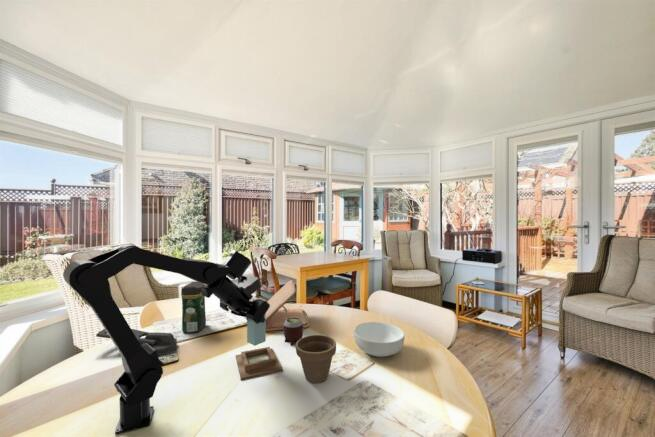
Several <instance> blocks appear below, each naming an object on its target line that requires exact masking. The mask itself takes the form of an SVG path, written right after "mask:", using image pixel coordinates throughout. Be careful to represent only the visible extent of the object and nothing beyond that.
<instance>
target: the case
mask: <svg viewBox="0 0 655 437" xmlns="http://www.w3.org/2000/svg"><path fill="white" fill-rule="evenodd" d="M296 287H297V286H296V284H295V283H294V281H293V280H292V279H290V280H288V281H287V282H286V283H285V284H284V285H282V287H281V288H280V289H278V291H276V292H275V294H273V295H272V297H270V298H269V300H266V301H267V302H268V303H269V304H270V307H269V309H268V310H267V312H266V332H276V331H284V330H283V326H284V323H285V321H286V320H287V319H288V318H287V315H286V312H285V310H284V309H281V308H283V307H282V306H285V304H287V303H288V302H289V301H290V300H291V299H292V298H293V296H295V294H296V292H297V289H296ZM280 305H282V306H280ZM287 313H288V316H289V318H293V317H294V318H299V319H300V320H301V321H302V324H303V329H307V328H309V327H310V322H309V319H308V315H307V314H306V311H305V310H303V309H301V308H300V309H297V308H295V309H287Z"/></svg>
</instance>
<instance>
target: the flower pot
mask: <svg viewBox="0 0 655 437" xmlns="http://www.w3.org/2000/svg"><path fill="white" fill-rule="evenodd" d="M336 352H337V342H336V339H334V338H333V337H332V336H329V335H324V334H311V335H310V334H309V335H307V336H304V337H303V336H302V338H301V339H299V340H298V341H297V342H295V353H296V355H297V357H298V358H299V359H300V362H301V368H302V371H303V374H304V377H305V379H306V381H308V382H310V383H313V384H319V383H320V384H321V383H323V382H325V381H327V379H328V378H329V374H330V370H331V365H332V360H333V356H334V355H335V354H336Z"/></svg>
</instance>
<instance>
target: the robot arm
mask: <svg viewBox="0 0 655 437" xmlns="http://www.w3.org/2000/svg"><path fill="white" fill-rule="evenodd" d="M251 264H252V261H251V259H250V258H249V257H247V256H246V255H244V254H243V253H240V252H239V251H238V250H235V249H232V250H231V252H229V255H228V256H227V257H226V259H225V260H224V261H223V262H222V263H215V262H212V261H207V260H203V259H193V258H190V259H189V258H178V257H176V256H172V255H168V254H164V253H159V252H156V251H151V250H149V249H148V250H147V249H145V248H140V247H139V246H137V245H134V244H122V245H121V246H119V247H117V248H115V249H112V250H110V251H109V250H108V251H106V252H104V253H100V254H98V255H96V256H93V257H91V258H88V259H86V258H85V259H83V258H81V259H76V260H74V261H71V263H69V264H68V265H66V267H65V269H64V271H63V273H62V277H63V279H64V281H65V282H66V284H68V285H69V287H71V289H73V290H74V292H76V293H77V294H78V295H79V297H81V299H83V300H84V301H85V302H86V303H87V304H88V305H89V307H90V308H91V309H92V311H93V313H94V314H95V316H96V317H97V319H98V320H99V322H100V324H101V325H102V327H103V329H105V330H106V332H107V334H108V335H109V336H110V338H109V339H111V341H112V343H113V344H114V346H115V347H116V349H117V350H118V352H119V354H120V356H121V362H122V365H123V369H124V372H123V373H122V374H121V375H120V377H119V378H118V379H117V380H116V381H115V383H114V384H113V385H114V387H115V390H116V391H117V392H118V393H119V394H120V396H119V420H118V422H117V425H116V427H115V430H114V433H115V435H117V434H122V433H126V432H130V431H134V430H137V429H142V428H145V427H149V426H150V424H151V422H152V417H153V413H154V409H155V407H154V406H153V405H151V401H150V400H151V398H153V396H154V394H155V391H156V389H157V388H156V387H157V386H158V383H159V382H160V380H161V378H162V376H163V374H164V369H163V366H164V365H165V363H164V362H163V361H161V359H160V357H159V355H158V354H157V352H156V350H154V349H153V348H152V347H151V346H150V345H148V344H145V345H144V346H143V347H142V346H141V345H140V343H139V341H138V340H137V338H136V336H135V335H134V333H133V331H132V330H131V329H132V328H131V326H130V325H129V323H128V322H127V320H126V318H125V316H124V315H123V313H122V311H121V310H120V308H119V306H118V305H117V303H116V301H115V300H114V298H113V295H112V289H111V285H110V281H109V279H110V278H113V277H114V276H116V275H117V274H119V273H121V272H122V271H124V270H125V269H126V268H128V267H129V266H131V265H138V266H142V267H147V268H152V269H156V270H161V271H165V272H169V273H173V274H174V273H175V274H178V275H180V276H183V277H186V278H187V279H190V280H193V281H194V282H201V283H204V285H205V286H203V287H202V294H201V295H202V296H205V298H208V299H209V298H211V297H212V296H213V295H214V296H215V297H216V298H218V300H219V307H220V308H221V309H222V310H223V311H226V312H229V310H230V313H231V314H233V315H234V316H239V317H243V318H245V320H246V321H247V320H249V321H252V322H254V323H256V324H258V323H260V322H261V323H264V321H265V318H264V315H265V314H266V312H267V310H268V309H269V307H270V304H269V303H268V302H267V301H268V300H266V301H264V300H265V299H264V300H261V299H262V298H261V299H256V300H253V301H249V300H251V299H253V297H254V295H253V294H255V292H257V291H258V290H259V289H262V286H263V285H262V283H261V281H260V278H259V276H258V277H257V276H253V275H247V276H246V275H244V274H245V273H246V271H247V270H248V268H250V266H251ZM236 279H237V284H236V283H234V281H235V280H236ZM232 280H234V281H232Z"/></svg>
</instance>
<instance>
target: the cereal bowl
mask: <svg viewBox="0 0 655 437" xmlns="http://www.w3.org/2000/svg"><path fill="white" fill-rule="evenodd" d="M353 337H354V342H355V344H356V346H357V347H358V348H359V349H360V350H361V351H363V352H364V353H366V354H369V355H370V356H373V357H378V358H384V357H388V356H393V355H395V354H397V353H399V352H400V351H401V349H402V348H403V345H404V342H405V331H404V330H403V329H402V328H400V327H398V326H397V325H394V324H391V323H388V322H382V321H368V322H362V323H359V324H357V325H356V326H355V327H354V329H353Z"/></svg>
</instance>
